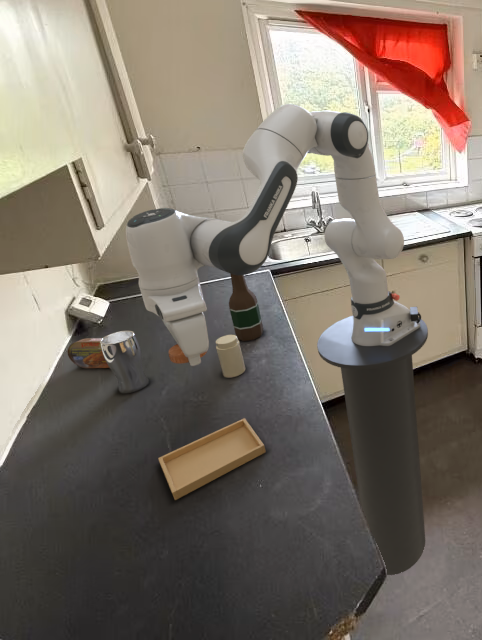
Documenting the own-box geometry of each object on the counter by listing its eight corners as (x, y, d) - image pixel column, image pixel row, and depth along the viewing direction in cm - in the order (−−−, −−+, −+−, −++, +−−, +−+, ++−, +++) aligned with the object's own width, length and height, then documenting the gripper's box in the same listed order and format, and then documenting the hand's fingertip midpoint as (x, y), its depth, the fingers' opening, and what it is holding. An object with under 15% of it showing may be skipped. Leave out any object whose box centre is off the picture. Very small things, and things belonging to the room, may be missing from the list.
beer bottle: (246, 328, 141) (231, 261, 132) (269, 329, 140) (255, 262, 132) (230, 341, 133) (213, 271, 125) (255, 342, 133) (239, 272, 125)
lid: (173, 367, 81) (171, 359, 80) (167, 354, 85) (165, 346, 84) (211, 355, 85) (208, 347, 85) (203, 343, 89) (201, 335, 89)
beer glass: (115, 385, 112) (97, 336, 107) (149, 374, 117) (133, 327, 111) (118, 398, 107) (99, 347, 102) (153, 386, 112) (136, 337, 107)
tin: (71, 368, 119) (61, 342, 116) (82, 362, 122) (72, 336, 119) (127, 368, 119) (118, 342, 116) (136, 361, 122) (127, 336, 119)
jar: (241, 363, 122) (234, 331, 119) (248, 371, 119) (240, 339, 115) (220, 371, 119) (211, 339, 115) (226, 380, 115) (218, 346, 111)
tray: (246, 424, 100) (244, 417, 99) (265, 452, 92) (264, 445, 92) (160, 465, 88) (158, 458, 88) (175, 500, 81) (172, 492, 80)
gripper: (141, 283, 85) (159, 343, 90) (164, 317, 72) (184, 385, 77) (179, 275, 89) (195, 332, 94) (208, 305, 77) (224, 370, 81)
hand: (190, 356), depth 85 cm, fingers closed on lid, 6 cm apart
